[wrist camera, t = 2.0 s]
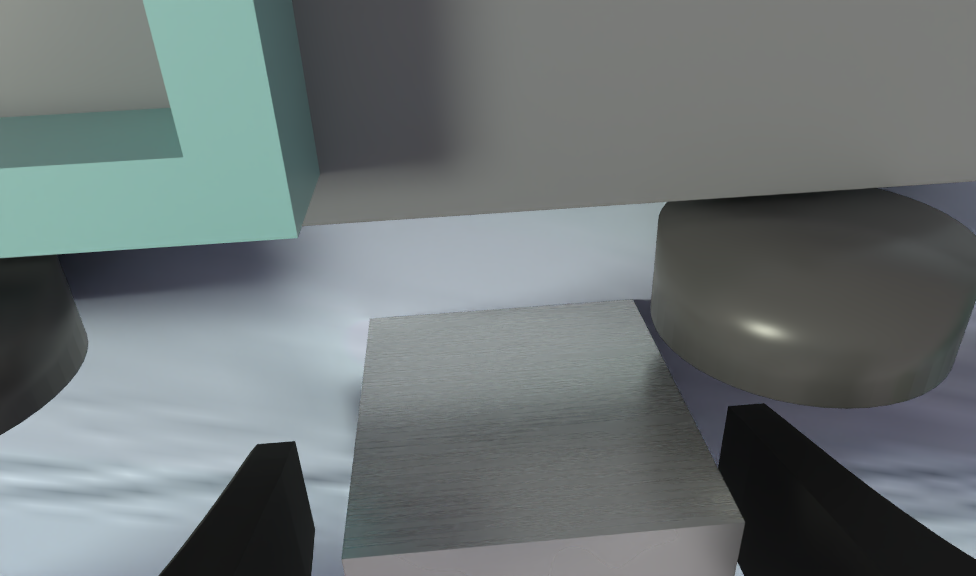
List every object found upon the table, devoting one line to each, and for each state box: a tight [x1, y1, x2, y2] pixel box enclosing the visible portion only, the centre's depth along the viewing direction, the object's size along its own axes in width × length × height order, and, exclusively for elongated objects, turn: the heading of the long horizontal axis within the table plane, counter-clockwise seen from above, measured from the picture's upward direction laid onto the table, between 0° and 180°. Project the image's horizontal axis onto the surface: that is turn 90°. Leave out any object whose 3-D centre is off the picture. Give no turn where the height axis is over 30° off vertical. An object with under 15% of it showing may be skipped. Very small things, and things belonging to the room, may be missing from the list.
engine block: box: [342, 299, 745, 576], centre depth 11 cm, size 4×4×5 cm
